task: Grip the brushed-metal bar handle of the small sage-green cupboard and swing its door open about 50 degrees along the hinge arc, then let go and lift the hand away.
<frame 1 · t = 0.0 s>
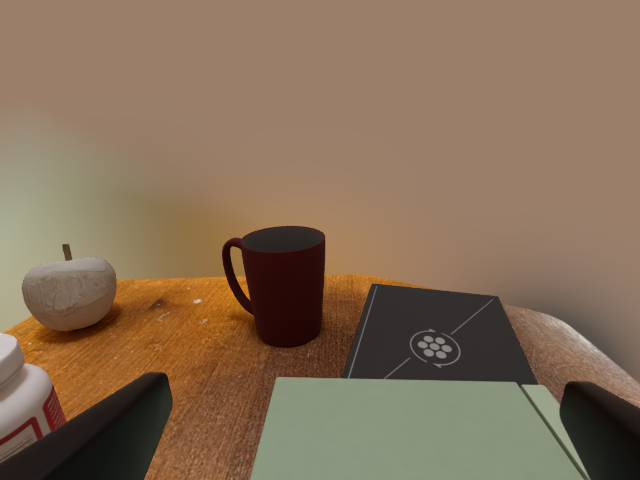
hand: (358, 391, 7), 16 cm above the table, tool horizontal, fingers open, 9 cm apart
book: (430, 371, 31), on the table
mug: (277, 326, 38), on the table
decorative object: (84, 325, 40), on the table
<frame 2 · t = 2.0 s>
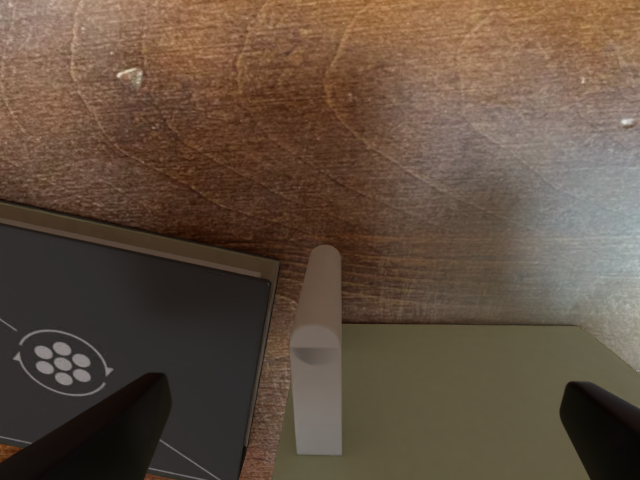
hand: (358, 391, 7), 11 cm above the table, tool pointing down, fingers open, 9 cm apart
book: (95, 328, 20), on the table
door: (479, 350, 13), point 5 cm above the table, hinge at 0.0°
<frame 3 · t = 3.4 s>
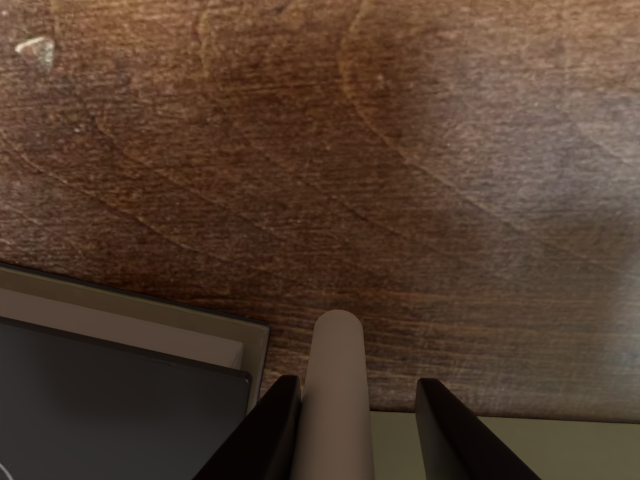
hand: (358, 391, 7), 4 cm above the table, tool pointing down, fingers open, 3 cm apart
book: (20, 403, 15), on the table
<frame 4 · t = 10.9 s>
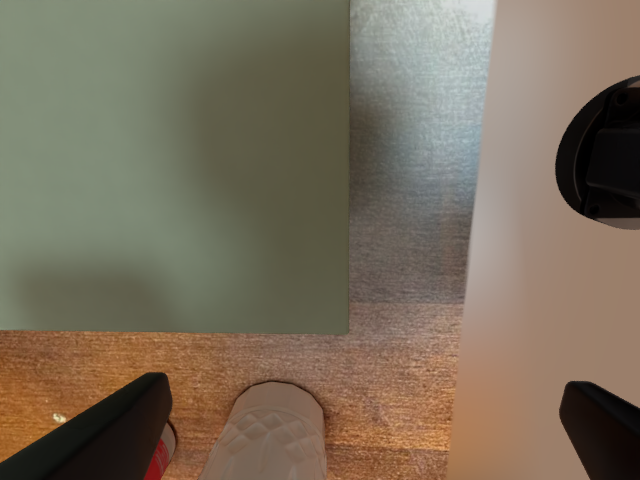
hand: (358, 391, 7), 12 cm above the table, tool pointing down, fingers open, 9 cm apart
white cup: (279, 415, 24), on the table
pill bottle: (140, 431, 25), on the table
cupboard: (198, 127, 17), on the table
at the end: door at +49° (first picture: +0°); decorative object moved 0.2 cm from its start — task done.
